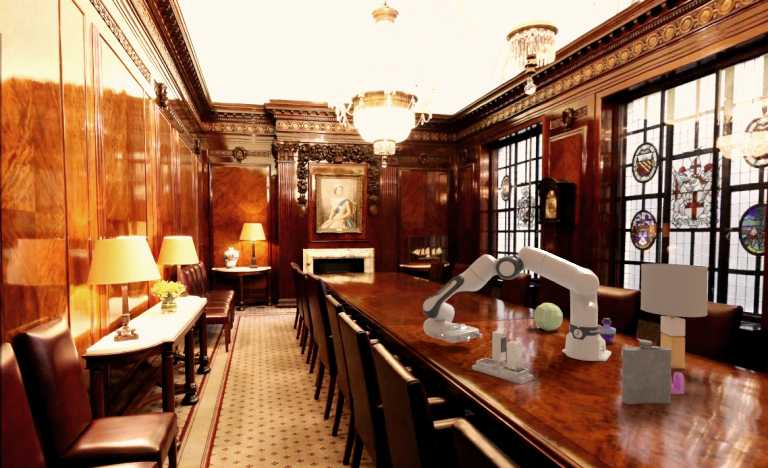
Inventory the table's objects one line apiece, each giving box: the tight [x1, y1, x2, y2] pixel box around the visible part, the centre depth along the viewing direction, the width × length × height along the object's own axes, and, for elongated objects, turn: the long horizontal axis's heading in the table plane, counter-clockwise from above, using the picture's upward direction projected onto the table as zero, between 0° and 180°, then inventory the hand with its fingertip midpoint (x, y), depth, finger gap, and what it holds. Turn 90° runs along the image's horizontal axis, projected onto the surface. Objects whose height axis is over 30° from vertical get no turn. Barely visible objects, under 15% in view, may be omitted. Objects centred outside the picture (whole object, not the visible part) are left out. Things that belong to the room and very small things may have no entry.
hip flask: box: [621, 339, 672, 405], centre depth 139 cm, size 16×4×20 cm, turn 94°
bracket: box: [671, 371, 685, 395], centre depth 152 cm, size 13×6×7 cm, turn 177°
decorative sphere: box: [533, 302, 564, 332], centre depth 238 cm, size 15×15×15 cm
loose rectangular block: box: [491, 330, 507, 362], centre depth 183 cm, size 4×5×12 cm
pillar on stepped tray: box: [471, 340, 534, 385], centre depth 165 cm, size 8×22×14 cm, turn 42°
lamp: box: [640, 263, 709, 370], centre depth 176 cm, size 23×23×42 cm
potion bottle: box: [599, 317, 617, 344], centre depth 213 cm, size 9×9×12 cm
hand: (475, 338), depth 192 cm, fingers open, 8 cm apart
